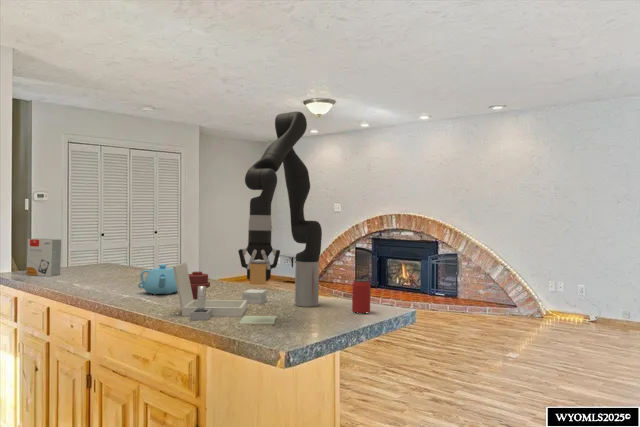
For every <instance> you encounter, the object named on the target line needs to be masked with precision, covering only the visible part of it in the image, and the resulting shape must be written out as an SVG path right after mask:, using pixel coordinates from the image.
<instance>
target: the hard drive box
mask: <svg viewBox="0 0 640 427" xmlns="http://www.w3.org/2000/svg"><path fill="white" fill-rule="evenodd" d="M26 239H27V243H26V270H25V272H26V274H25V275H26V276H38V277H39V276H40V277H41V276H42V277H54V276H60V275H61V261H62V260H61V259H62V258H61V257H62V239H59V238H26Z"/></svg>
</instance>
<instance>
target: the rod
mask: <svg viewBox="0 0 640 427" xmlns="http://www.w3.org/2000/svg"><path fill="white" fill-rule="evenodd" d="M206 297H207V288H206V286H198V298H197V312H205V303H206V300H207V298H206Z"/></svg>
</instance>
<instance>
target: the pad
mask: <svg viewBox="0 0 640 427" xmlns="http://www.w3.org/2000/svg"><path fill="white" fill-rule="evenodd" d="M276 319H277V316H276V315H242V317H241V319H240V321H239V324H240V325H241V324H243V325H244V324H248V325H249V324H251V325H252V324H254V325H255V324H256V325H257V324H258V325H259V324H260V325H262V324H263V325H265V324H267V325H271V326H275V322H276Z"/></svg>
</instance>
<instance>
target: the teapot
mask: <svg viewBox="0 0 640 427" xmlns="http://www.w3.org/2000/svg"><path fill="white" fill-rule="evenodd" d="M144 273H148V274H146V277H145V279H144ZM139 276H140V281H141V282H139V283H138V285H137V286H138V289H144V291H145V292H146V293H148V294H151V295H152V294H157V295H163V294H165V295H172V294H173V293H176V292H178V291H177V285H176V280H175V275H174V270H173V267H167V264H164V263H163V264H159V265H158V267H155V268H151V269H150V270H149V269H145V270H142V271H141V273H140V275H139ZM141 285H142V286H141Z"/></svg>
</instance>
